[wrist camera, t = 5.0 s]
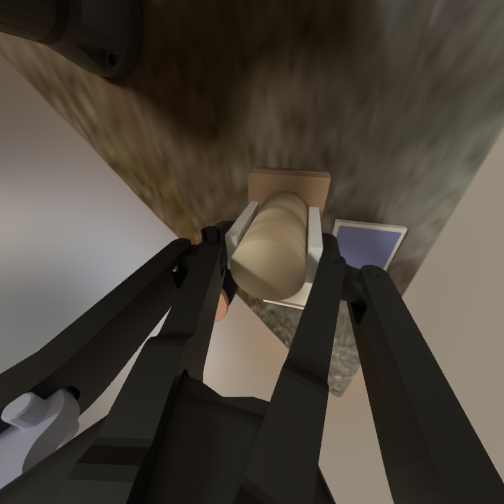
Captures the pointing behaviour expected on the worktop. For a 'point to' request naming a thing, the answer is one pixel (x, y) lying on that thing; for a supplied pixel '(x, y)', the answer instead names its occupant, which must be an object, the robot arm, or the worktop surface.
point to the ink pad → (367, 242)
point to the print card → (296, 298)
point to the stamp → (278, 231)
